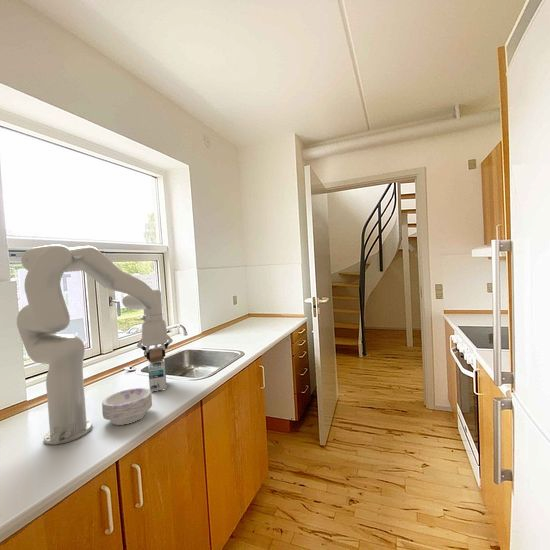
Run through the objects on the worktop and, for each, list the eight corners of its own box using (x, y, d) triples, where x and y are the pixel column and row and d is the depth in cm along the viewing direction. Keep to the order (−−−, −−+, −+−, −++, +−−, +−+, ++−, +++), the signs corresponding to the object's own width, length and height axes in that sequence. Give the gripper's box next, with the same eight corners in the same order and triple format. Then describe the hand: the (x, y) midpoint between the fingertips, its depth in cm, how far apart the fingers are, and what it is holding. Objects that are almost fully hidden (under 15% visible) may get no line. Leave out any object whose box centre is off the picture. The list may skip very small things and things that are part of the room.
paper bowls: (147, 404, 110) (146, 383, 110) (157, 419, 98) (155, 396, 98) (101, 417, 102) (100, 395, 101) (105, 436, 89) (103, 410, 89)
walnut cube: (162, 360, 125) (161, 349, 125) (150, 363, 123) (149, 351, 123) (162, 358, 130) (161, 346, 130) (150, 360, 128) (149, 348, 128)
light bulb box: (166, 390, 123) (165, 364, 123) (149, 393, 120) (147, 367, 120) (166, 381, 133) (164, 358, 133) (150, 384, 130) (148, 360, 130)
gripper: (131, 321, 119) (134, 365, 120) (174, 316, 126) (177, 358, 126) (132, 319, 126) (135, 361, 127) (173, 315, 133) (176, 354, 133)
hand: (156, 359), depth 126 cm, fingers closed on walnut cube, 4 cm apart
